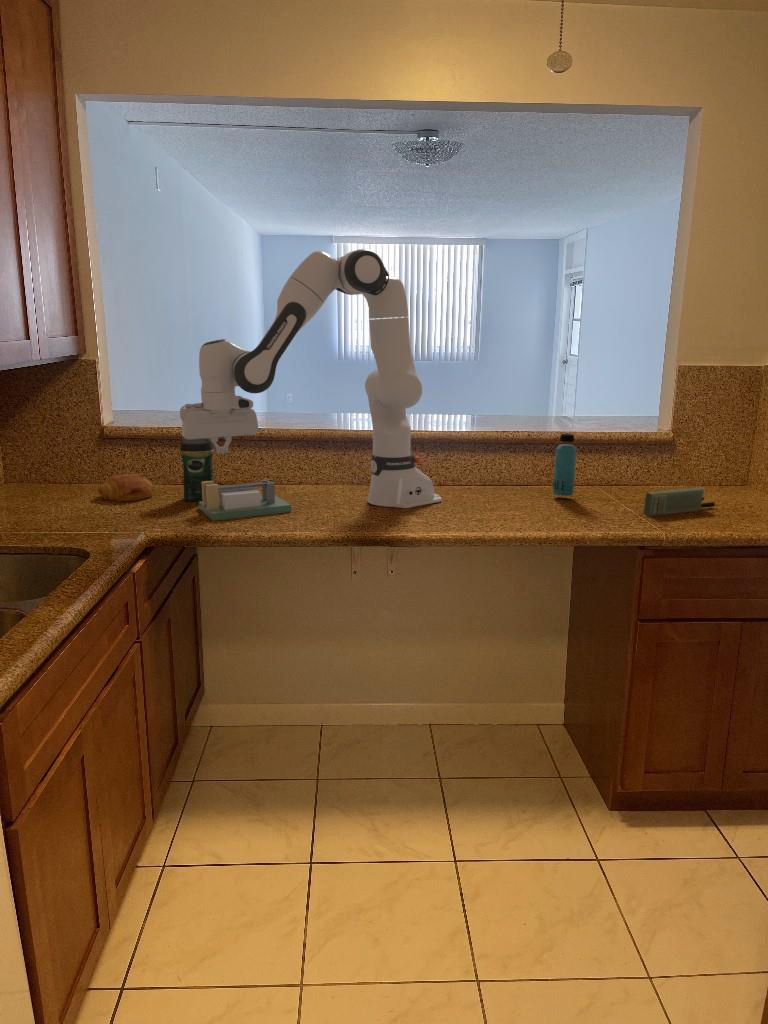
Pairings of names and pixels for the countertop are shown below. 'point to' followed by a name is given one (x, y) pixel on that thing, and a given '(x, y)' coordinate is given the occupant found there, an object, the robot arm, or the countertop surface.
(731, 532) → the countertop surface
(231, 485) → the retention strap
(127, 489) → the croissant
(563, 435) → the beverage bottle
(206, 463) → the coffee jar
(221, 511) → the board
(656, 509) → the handheld radio
